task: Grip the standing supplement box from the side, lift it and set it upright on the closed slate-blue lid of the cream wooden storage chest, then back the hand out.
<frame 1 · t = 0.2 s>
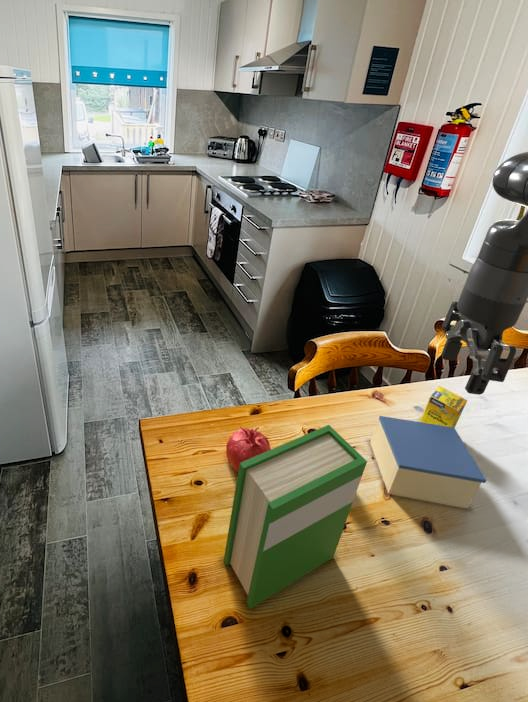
hand: (459, 374, 66), 31 cm above the table, tool pointing down, fingers open, 8 cm apart
supplement box: (433, 433, 94), on the table
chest: (414, 474, 84), on the table
pomegranate: (248, 464, 84), on the table
hardback book: (278, 561, 68), on the table
chest lid: (427, 446, 80), point 8 cm above the table, hinge at 0.0°
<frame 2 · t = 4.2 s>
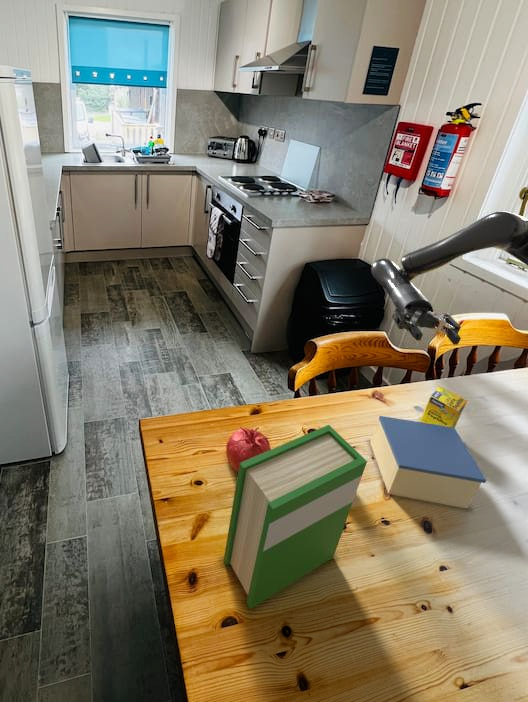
hand: (438, 339, 95), 20 cm above the table, tool horizontal, fingers open, 8 cm apart
nothing on the table moved.
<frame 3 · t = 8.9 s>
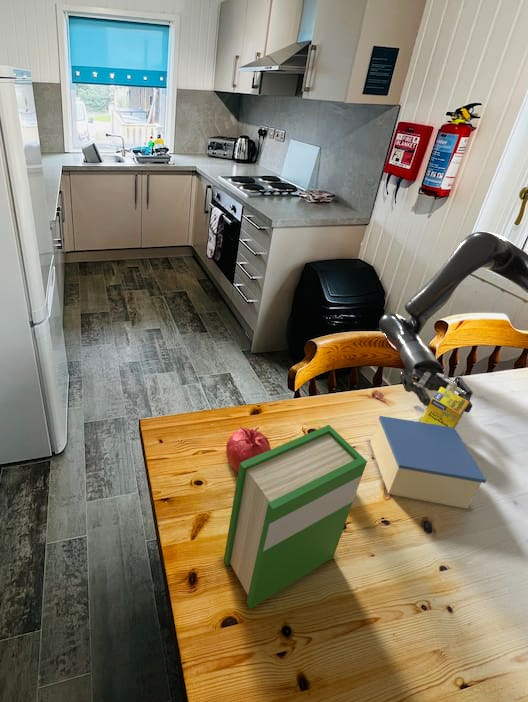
hand: (448, 406, 90), 9 cm above the table, tool horizontal, fingers closed on supplement box, 8 cm apart
supplement box: (433, 433, 94), on the table, touching gripper
everything else where it was.
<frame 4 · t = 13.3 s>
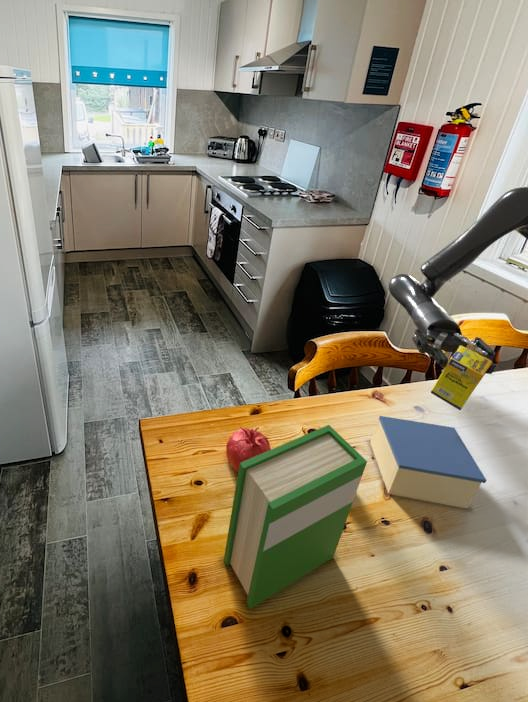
hand: (468, 367, 80), 24 cm above the table, tool horizontal, fingers closed on supplement box, 8 cm apart
supplement box: (449, 395, 85), point 15 cm above the table, touching gripper
everything else where it was.
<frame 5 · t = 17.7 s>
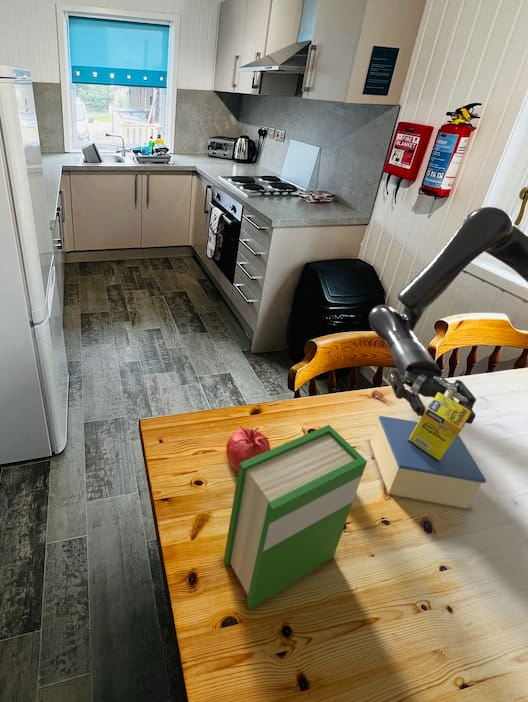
hand: (446, 416, 75), 18 cm above the table, tool horizontal, fingers closed on supplement box, 8 cm apart
supplement box: (427, 443, 80), point 9 cm above the table, touching gripper
everything else where it was.
when the fingers open (19 cm above the table, at t = 18.3 s): supplement box stays where it is, resting on chest lid.
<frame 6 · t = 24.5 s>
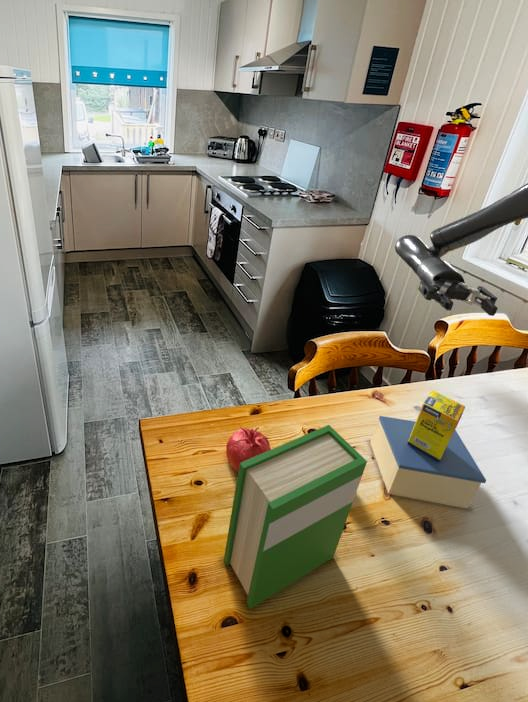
hand: (472, 309, 85), 32 cm above the table, tool horizontal, fingers open, 8 cm apart
supplement box: (426, 446, 80), point 8 cm above the table, touching chest lid
chest lid: (427, 446, 80), point 8 cm above the table, hinge at -0.2°, touching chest, supplement box
everything else where it was.
at the end: supplement box inside the target area on the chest (0.1 cm from its centre), point 8.4 cm above the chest's base; supplement box tilted 0°; the gripper is holding nothing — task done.
